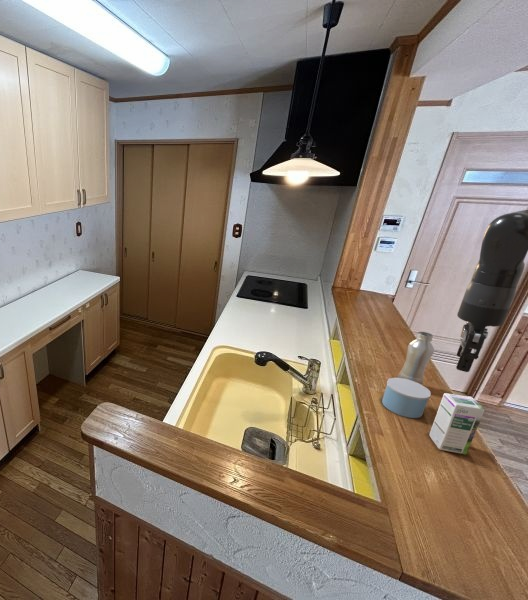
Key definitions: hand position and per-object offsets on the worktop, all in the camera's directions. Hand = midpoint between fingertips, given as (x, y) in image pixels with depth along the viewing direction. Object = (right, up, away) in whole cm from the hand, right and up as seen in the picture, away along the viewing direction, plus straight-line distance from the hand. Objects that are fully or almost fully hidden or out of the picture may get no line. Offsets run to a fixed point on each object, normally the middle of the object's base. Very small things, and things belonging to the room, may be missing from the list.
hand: (462, 363), depth 79 cm
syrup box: (+4, -24, +8) cm, 26 cm away
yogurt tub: (+4, -18, +23) cm, 29 cm away
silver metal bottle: (+15, -15, +33) cm, 39 cm away
